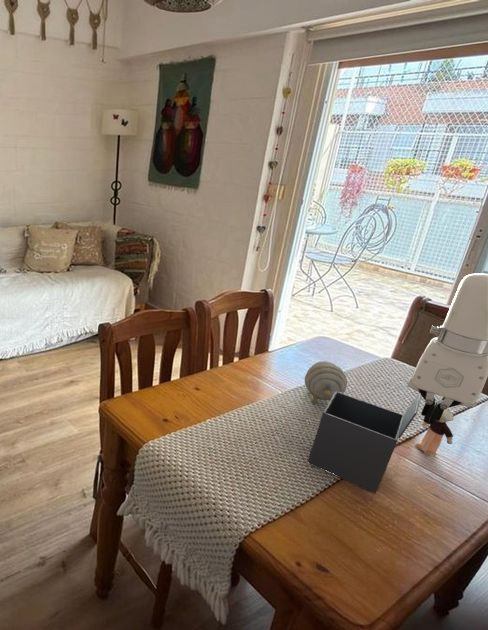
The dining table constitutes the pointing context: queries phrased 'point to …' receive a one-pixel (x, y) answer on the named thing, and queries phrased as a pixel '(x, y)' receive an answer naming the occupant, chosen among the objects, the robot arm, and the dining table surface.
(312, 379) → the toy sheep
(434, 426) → the grandmother figurine
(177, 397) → the dining table surface
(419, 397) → the flap
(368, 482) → the carton
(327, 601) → the dining table surface
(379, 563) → the dining table surface
